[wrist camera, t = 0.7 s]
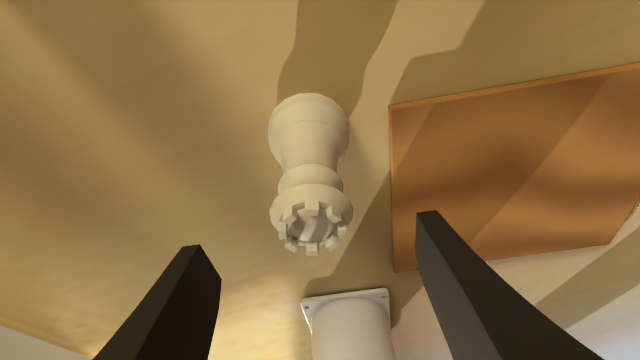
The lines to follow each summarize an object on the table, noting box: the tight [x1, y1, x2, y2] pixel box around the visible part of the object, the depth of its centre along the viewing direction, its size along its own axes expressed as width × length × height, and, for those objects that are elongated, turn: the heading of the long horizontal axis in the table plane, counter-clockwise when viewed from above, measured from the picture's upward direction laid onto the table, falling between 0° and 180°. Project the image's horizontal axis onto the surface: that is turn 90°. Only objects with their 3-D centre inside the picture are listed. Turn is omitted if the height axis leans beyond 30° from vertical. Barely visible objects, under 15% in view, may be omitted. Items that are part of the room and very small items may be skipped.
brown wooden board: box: [388, 63, 640, 273], centre depth 21 cm, size 15×17×1 cm
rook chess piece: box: [268, 93, 353, 256], centre depth 15 cm, size 4×4×8 cm
